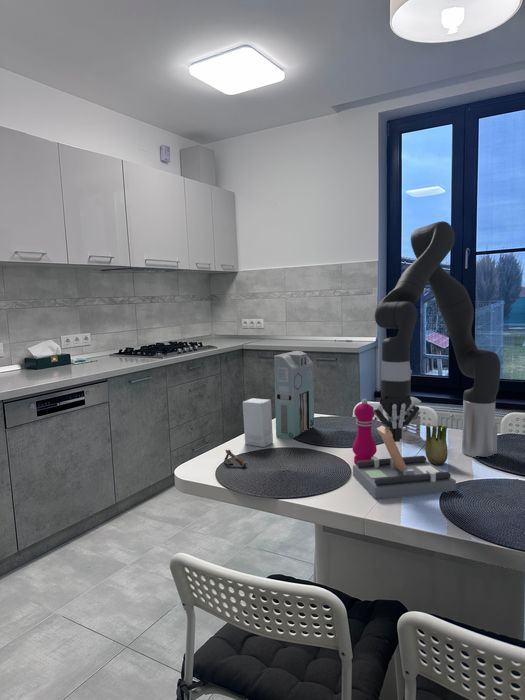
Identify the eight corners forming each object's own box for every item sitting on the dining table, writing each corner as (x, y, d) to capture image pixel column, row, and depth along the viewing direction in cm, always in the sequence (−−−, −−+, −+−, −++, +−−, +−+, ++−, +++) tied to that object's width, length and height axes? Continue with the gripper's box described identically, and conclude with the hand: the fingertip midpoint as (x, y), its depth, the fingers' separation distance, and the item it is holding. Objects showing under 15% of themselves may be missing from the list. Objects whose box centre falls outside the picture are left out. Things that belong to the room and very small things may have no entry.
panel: (424, 469, 136) (424, 452, 136) (455, 491, 120) (456, 472, 120) (352, 475, 133) (352, 458, 132) (375, 499, 117) (375, 479, 116)
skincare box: (273, 442, 164) (272, 399, 162) (263, 448, 159) (262, 403, 157) (253, 439, 169) (252, 397, 167) (243, 444, 163) (242, 401, 161)
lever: (400, 465, 129) (381, 425, 127) (410, 473, 123) (391, 431, 121) (395, 468, 129) (376, 428, 127) (405, 476, 123) (385, 434, 121)
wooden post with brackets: (224, 458, 147) (228, 447, 145) (243, 473, 143) (247, 461, 142) (220, 460, 145) (224, 448, 144) (239, 475, 142) (244, 463, 140)
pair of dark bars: (423, 460, 135) (423, 452, 135) (452, 480, 120) (453, 471, 120) (355, 465, 132) (355, 458, 132) (376, 487, 117) (376, 478, 117)
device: (293, 439, 168) (292, 356, 165) (275, 436, 172) (274, 355, 169) (314, 427, 182) (313, 351, 178) (297, 425, 186) (295, 350, 182)
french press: (427, 443, 160) (428, 371, 157) (393, 443, 160) (394, 372, 157) (418, 434, 170) (419, 367, 167) (386, 435, 170) (386, 367, 167)
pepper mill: (377, 467, 138) (377, 401, 136) (352, 466, 140) (352, 401, 138) (376, 459, 145) (376, 396, 143) (352, 458, 147) (352, 396, 145)
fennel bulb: (423, 463, 141) (424, 424, 140) (430, 458, 145) (431, 421, 143) (442, 467, 137) (443, 428, 136) (449, 463, 141) (450, 424, 140)
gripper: (412, 373, 127) (411, 435, 129) (366, 376, 125) (366, 438, 127) (426, 378, 120) (425, 443, 122) (377, 381, 118) (377, 447, 120)
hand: (395, 440), depth 125 cm, fingers closed
